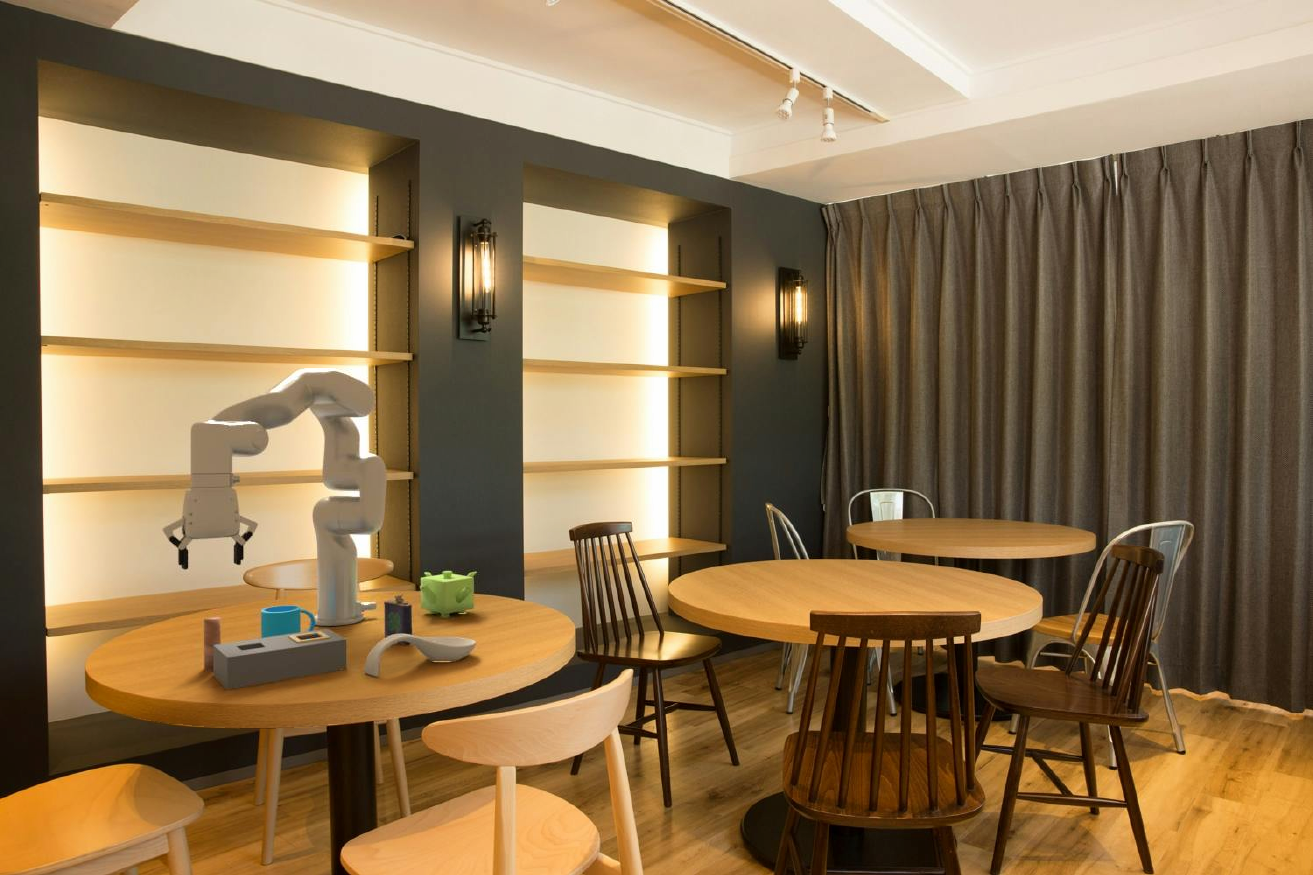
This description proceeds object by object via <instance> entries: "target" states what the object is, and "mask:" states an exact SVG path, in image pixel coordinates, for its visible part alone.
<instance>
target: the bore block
mask: <svg viewBox="0 0 1313 875" xmlns="http://www.w3.org/2000/svg"><path fill="white" fill-rule="evenodd" d="M347 667H348V666H347V639H346V637H342V636H341V635H340V634H338V633H336V632H334V631H332V630H330V629H329V628H323V629H316V630H315V629H313V631H308V630H307V631H301V632H300V633H293V634H286V635H279V636H272V637H265V638H261V637H259V638H254V639H253V638H252V639H244V640H238V641H233V642H225V643H221V644H217V645H213V670H212V671H213V676H214V678H216V680H217V681H218V682H219V683H221V685H222V686H224V687H225V689H226V690H227V689H229V690H234V689H239V688H246V687H251V686H256V685H261V684H262V685H263V684H268V683H273V682H279V681H284V680H285V681H286V680H290V679H291V680H292V679H296V678H303V677H308V676H314V675H318V674H324V673H325V674H327V673H329V672H330V673H331V671H332V672H336V670H337V671H342V670H341V669H343V670H347V669H346V668H347Z"/></svg>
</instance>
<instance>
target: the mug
mask: <svg viewBox="0 0 1313 875" xmlns="http://www.w3.org/2000/svg"><path fill="white" fill-rule="evenodd" d="M301 613H302V614H304V615H307V616H308V618H310V626H309V628H308V629H307V631H314V630H315V627H316V625H315V623H316V621H315V617H314V616H315V615H314V614H313V613H311V612H310V611H309V610H307V609H303V608H301V607H300V606H299V605H292V604H291V605H276V606H275V605H274V606H269V607H265V608H262V609H261V610H260V638H265V637H272V636H279V635H286V634H293V633H300V632H302V631H301V630H302V629H301V627H302V626H301V623H302V622H301V621H302V620H301V617H302V616H301Z"/></svg>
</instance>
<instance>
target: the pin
mask: <svg viewBox="0 0 1313 875" xmlns="http://www.w3.org/2000/svg"><path fill="white" fill-rule="evenodd" d="M221 631H222V630H221V617H218V616H215V617H206V618H204V619H203V663H204V664H203V670H205V671H213V645H217V644H222V643H221V642H222V641H221V635H222V634H221Z"/></svg>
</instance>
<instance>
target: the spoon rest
mask: <svg viewBox="0 0 1313 875" xmlns="http://www.w3.org/2000/svg"><path fill="white" fill-rule="evenodd" d="M400 641H405V642H408V643H410V644H411V645H412V646H414V647H415V648H416V649H417V650H418V651H420V653H421V654H422V655H424V657H426V658H427V659H429V661H431V662H432V661H454V662H456V661H455V660H458V659H460V660H461V659H463V658H465V657H467V656H468V655H470V653H471V652H472V651H473V650H474V648H475V647H476V645H477V642H476V641H475V640H474V639H471V638H467V637H458V636H419V635H418V636H417V635H413V634H412V635H409V634H393V635H390V636H388V637H386V638H383V639H381V640H380V641H378V642H377V643H376V644H375V645H374V646H373V647H372V649H371V650H370V652H369V653H368V656H367V657H366V660H365V663H364V671H363V672H364V673H365V674H367V675H369V676H371V675H372V676H371V677H376V678H377V677H379V673H380V664H381V663H380V662H381V659H382V657H383V655H384V652H385V651H387V649H389V648H390V647H391V646H393V645H394V644H398V643H397V642H400ZM458 661H459V660H458Z"/></svg>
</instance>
